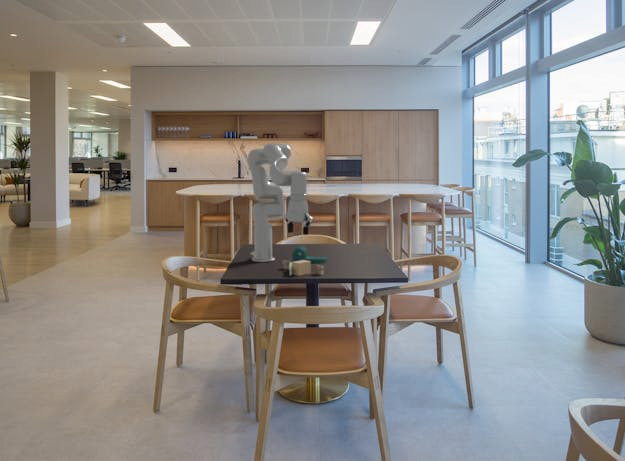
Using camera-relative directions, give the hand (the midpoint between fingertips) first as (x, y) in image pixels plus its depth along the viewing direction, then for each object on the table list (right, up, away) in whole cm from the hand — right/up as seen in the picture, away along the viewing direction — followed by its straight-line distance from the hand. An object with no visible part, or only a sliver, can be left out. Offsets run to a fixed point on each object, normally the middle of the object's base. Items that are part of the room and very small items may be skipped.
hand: (298, 233), depth 279 cm
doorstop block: (+2, -19, +1) cm, 19 cm away
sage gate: (-3, -19, +3) cm, 19 cm away
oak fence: (+2, -19, +7) cm, 20 cm away
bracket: (+6, -16, +34) cm, 38 cm away
